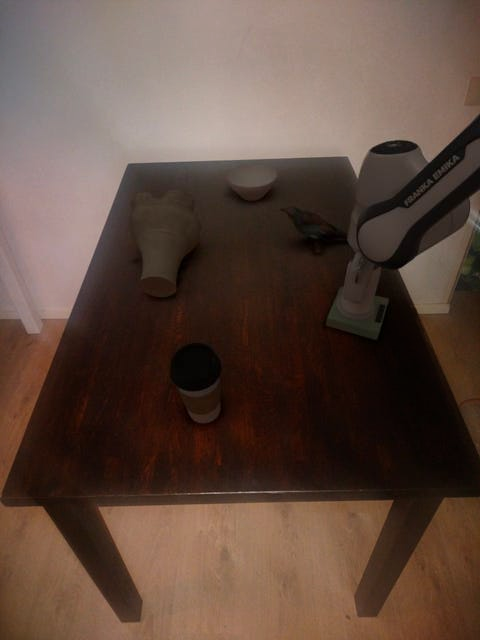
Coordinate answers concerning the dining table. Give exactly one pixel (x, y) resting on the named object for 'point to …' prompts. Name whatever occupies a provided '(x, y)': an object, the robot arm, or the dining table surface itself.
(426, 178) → the robot arm
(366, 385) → the dining table surface
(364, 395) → the dining table surface
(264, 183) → the bowl
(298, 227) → the bird figurine
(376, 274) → the can
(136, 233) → the vase
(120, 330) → the dining table surface
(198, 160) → the dining table surface
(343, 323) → the scale
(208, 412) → the coffee cup
